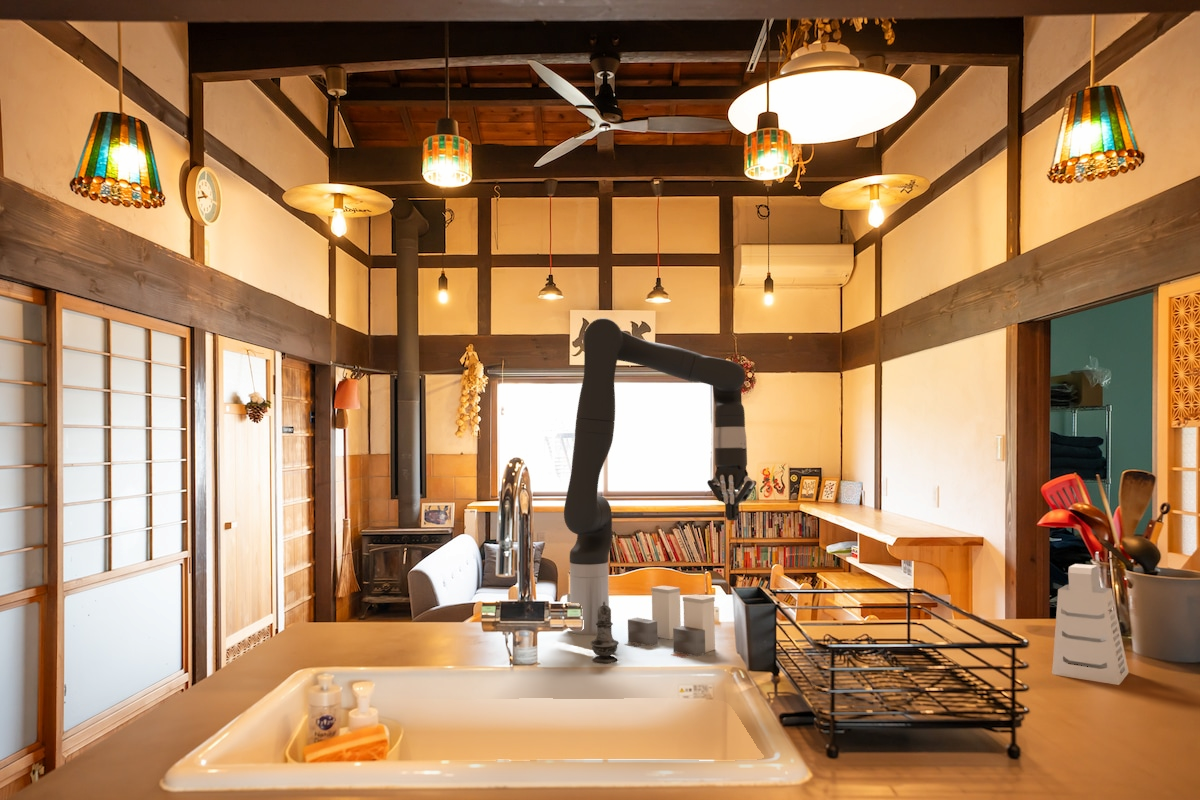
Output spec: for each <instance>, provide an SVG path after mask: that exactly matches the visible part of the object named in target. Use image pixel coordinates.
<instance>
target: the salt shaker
mask: <svg viewBox="0 0 1200 800" xmlns="http://www.w3.org/2000/svg"><path fill="white" fill-rule="evenodd" d="M605 604H606V603H605V601H604V602H603V605H602V606H600V607H599V608H598V622H597V623H596V625H597V635H596V638H595V640H592V641H590V645H591V649H592V651H593V653H594V655H596V656H595V657H593V658H592V659H591V661H592V663H595V664H600V665H601V664H603V665H607V664H614V663H616V662H617V661H618V658H617V657H615V656H613V655H614V654H615V653H616V651H618V650H617V649H618V645H619V643H620V642H619V641H618V640H615V639H614V638H613V635H612V626H613V625H614V624H613V622H612V609H611V608H610V606H609V607H608V606H606V605H605Z"/></svg>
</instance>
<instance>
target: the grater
mask: <svg viewBox="0 0 1200 800" xmlns="http://www.w3.org/2000/svg"><path fill="white" fill-rule="evenodd" d="M1099 569H1100V568H1099V566H1098V564H1097V565H1095V564H1083V563H1074V564H1072V565H1070V566H1068V572H1067V573H1068V584H1065V585H1064V586H1062V587H1059V588H1058V589H1057V601H1056V612H1055V613H1056V616H1055V629H1054V630H1055V631H1054V641H1053V642H1054V643H1053V653H1052V654H1053V659H1052V671H1051V674H1052V675H1054V676H1060V677H1067V678H1073V679H1078V680H1085V681H1086V680H1087V681H1091V682H1097V683H1106V684H1111V685H1118V686H1119V685H1120V684H1121V683H1122V682H1123V681H1124V679H1125V678H1126V677H1127V675H1129V673H1130V672H1129V667H1128V664H1127V663H1128V662H1127V656H1126V652H1125V648H1124V647H1125V646H1124V643H1123V639H1122V633H1121V629H1120V624H1119V619H1118V614H1117V609H1116V605H1115V600H1114V595H1113V589H1112V588H1111V587H1110V588H1109V587H1101V583H1100V570H1099ZM1068 663H1071V664H1068ZM1074 664H1078V665H1074ZM1081 665H1082V666H1081ZM1087 666H1088V667H1087Z"/></svg>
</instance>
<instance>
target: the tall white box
mask: <svg viewBox="0 0 1200 800" xmlns="http://www.w3.org/2000/svg"><path fill="white" fill-rule="evenodd" d="M715 598H716V597H715V596H709V595H701V594H697V593H695V594H690V595H684V596H682V601H683V626H686V627H691V628H696V629H702V630H705V653H707V652H708V653H709V652H711V651H714V650H716V636H715V635H716V634H715V631H716V630H715V627H716V626H715Z"/></svg>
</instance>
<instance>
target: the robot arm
mask: <svg viewBox="0 0 1200 800" xmlns="http://www.w3.org/2000/svg"><path fill="white" fill-rule="evenodd" d="M583 349H584V353H583V354H584V368H583V379H582V385H581V388H580V393H579V399H578V404H577V411H576V412H577V413H576V419H575V429H574V440H573V441H574V443H573V444H574V445H573V451H572V452H573V453H572V462H571V472H570V477H569V481H568V487H567V492H566V498H565V502H564V508H563V518H564V520H563V521H564V522H565V525H566V527H567V529H568V530H569V531H570V533H573V534H575V535H577V537H576V542H575V544H574V546H573V547H572V548H571V549H570V551H569V593H568V594H567V595H566V603H567V602H571V603H579V604H580V605H581V606H582V609H583V620H584V629H583V630H582V631H567V630H566V631H567V633H568V632H569V633H571V634H573V635H577V636H578V635H579V636H597V625H596V623H597V622H598V608H599V607H600V606H602V605H603V602H604V601H605V603H606V604H605V605H606V606H608V607H610V604H609V603H610V601H609V599H610V598H609V597H610V595H609V593H610V591H609V589H610V586H609V585H610V584H609V581H610V579H609V555H610V552H611V549H612V533H613V530H612V529H613V528H612V527H613V515H612V514H613V513H612V507H611V505H610V503H609V501H608V499H606V498H605V497H604V496H603V495H600V494H598V489H599V481H600V480H599V479H600V474H601V471H602V469H603V466H604V464H605V461H606V460H607V457H608V455H609V452H610V449H611V447H612V444H613V441H614V431H615V430H614V429H615V421H616V420H615V419H616V393H615V378H616V377H615V375H616V369H617V368H616V367H617V365H618V364H617V362H618V361H619V362H620V361H621V362H626V363H631V364H635V365H639V366H642V367H645V368H649V369H652V370H654V371H658V372H660V373H663V374H666V375H668V376H672V377H674V378H678V379H681V380H685V381H688V382H691V383H692V382H693V383H703V384H706V385H708V386H712V392H713V398H714V399H713V400H714V401H713V402H714V406H715V407H714V408H715V409H714V427H715V428H714V439H713V440H714V442H713V443H714V465H715V467H716V469H715V473H714V477H713V478H712V479H711V480H707V485H708V486H709V487H708V488H710V490H711V491H712V493H713V495H714V496H715V497H716V499H717V501H718V502H722V503H723V504H724V505H725V507H724V508H725V513H724V515H725V517H726V520H727V521H733V522H734V521H737V520H738V518H739V517H740V509H739V507H740V506H739V505H740V503H743V502H746V501H747V500H748V498H749V497H750V495H751V493H752V492H753V490H754V489H755V487H756V485H757V481H756V480H755V479H753V480H752V479H751V478H750V477H749V472H748V471H747V466H748V451H747V449H748V448H747V433H746V418H745V417H746V416H745V415H746V414H745V406H744V405H743V403H742V401H743V400H742V387H743V386H744V384H745V381H746V373H745V372H746V371H745V369H744V368H743V366H741V364H739V363H737V362H735V361H733V360H728V359H724V358H721V357H715V356H708V355H703V354H701V353H700V352H699V353H698V352H695V351H692V350H689V349H686V348H685V349H684V348H682V347H679V346H674V345H670V344H665V343H658V342H653V341H649V340H647V339H646V340H645V339H642V338H640V337H637V336H634V335H631V334H629V333H627V332H625V331H623V330H621V328H620V327H619V325H618V324H617V323H616V322H615V321H613V320H612V319H610V318H606V317H605V318H604V317H600V318H597V319H595V320H593V321H591V322H590V324H588V325H587V327H586V329H585V331H584V334H583Z"/></svg>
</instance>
